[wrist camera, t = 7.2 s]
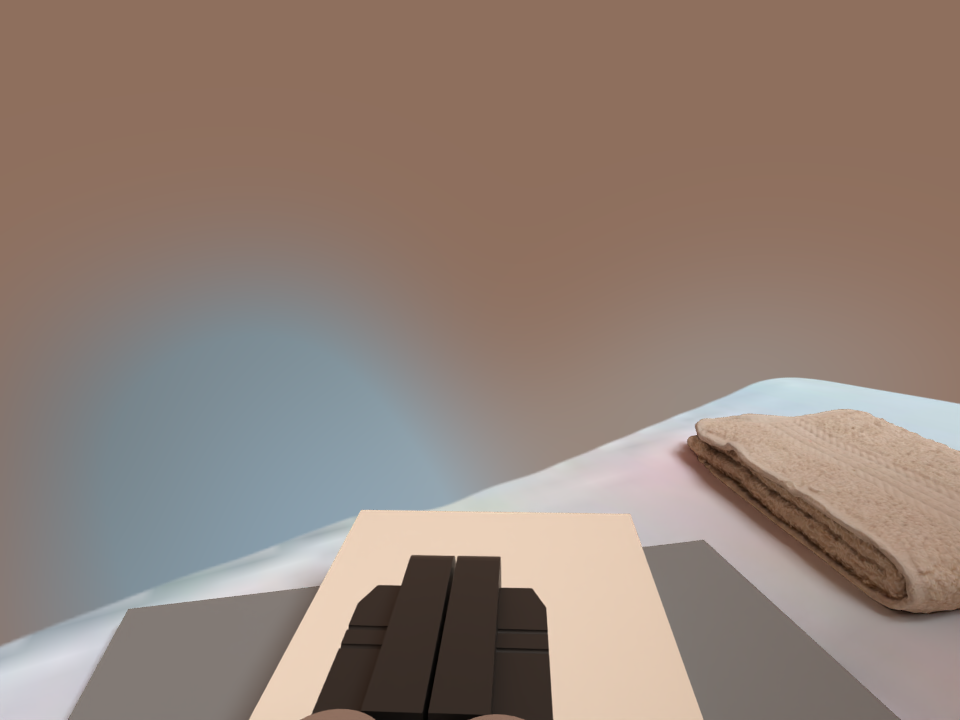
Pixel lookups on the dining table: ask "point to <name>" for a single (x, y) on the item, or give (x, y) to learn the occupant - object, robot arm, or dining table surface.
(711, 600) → the mat
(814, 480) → the washcloth
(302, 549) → the dining table surface
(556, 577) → the tile
